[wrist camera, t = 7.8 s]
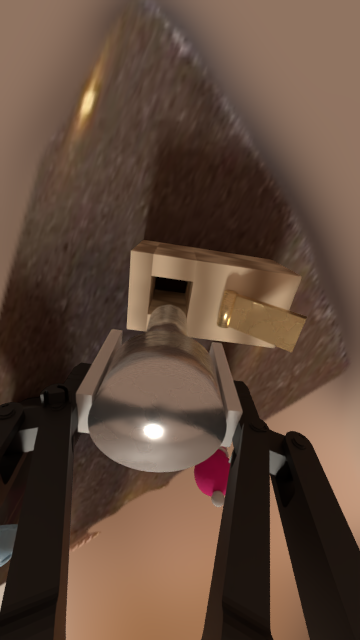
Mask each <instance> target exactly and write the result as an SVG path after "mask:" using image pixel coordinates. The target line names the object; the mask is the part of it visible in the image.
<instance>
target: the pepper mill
mask: <svg viewBox="0 0 360 640" xmlns="http://www.w3.org/2000/svg"><path fill="white" fill-rule="evenodd" d="M229 460H230V459H229V458H228V452H227V447H223V446H220V447H219V448H218V450H217V451H216V452H215V453H214V454H213V455H211V456H210V457H209V458H208V459H206V460H205V461H203V462H201V463H199V464H197V465H195V469H194V475H195V480H196V483H197V486H198V487H199V489H200V490H201V491H202V492H203V493H204V494H206V495H208V496H211V500H212V503H213V504H214V505H215V506H216V507H220V506H222V505H223V504H224V500H225V498H224V495H225V494H226V488H227V481H228V475H229V469H230V463H229Z"/></svg>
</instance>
